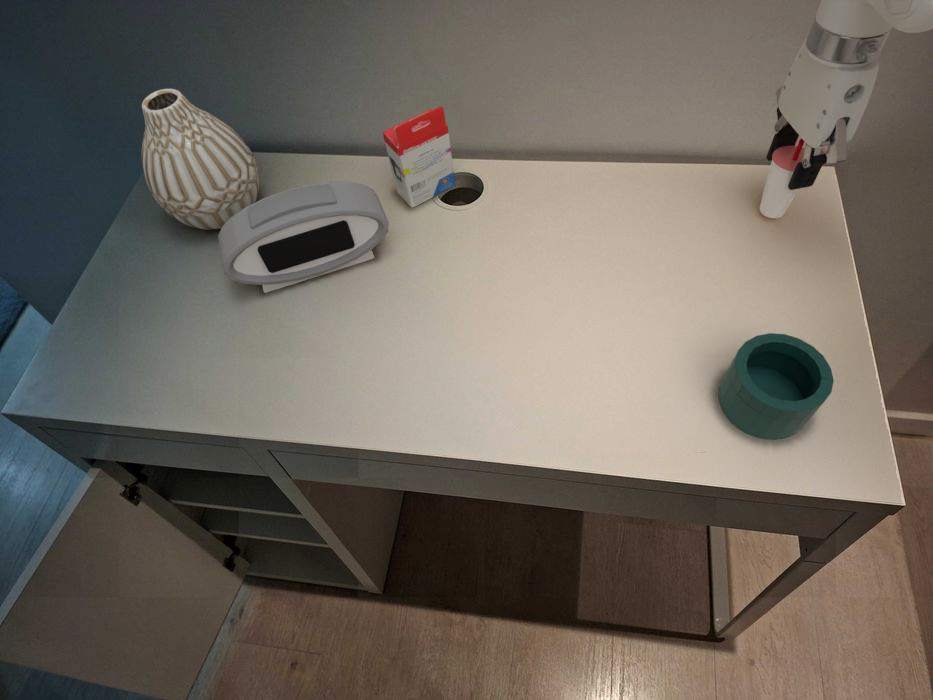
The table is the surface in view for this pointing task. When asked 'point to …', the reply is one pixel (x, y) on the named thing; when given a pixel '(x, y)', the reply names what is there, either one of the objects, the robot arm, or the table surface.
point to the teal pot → (774, 386)
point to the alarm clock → (302, 234)
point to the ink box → (421, 156)
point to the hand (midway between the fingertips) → (788, 170)
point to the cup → (781, 180)
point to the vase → (195, 162)
